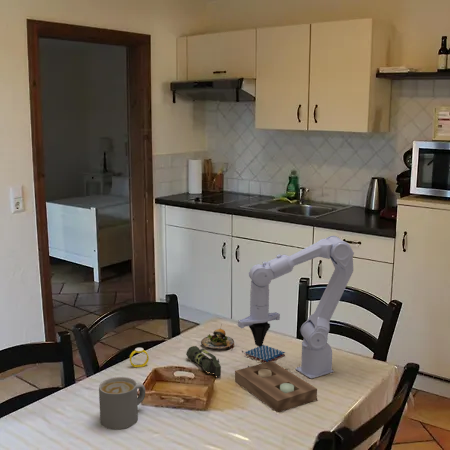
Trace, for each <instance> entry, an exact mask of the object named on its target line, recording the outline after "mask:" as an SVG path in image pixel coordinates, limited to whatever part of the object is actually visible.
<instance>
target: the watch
mask: <svg viewBox="0 0 450 450" xmlns="http://www.w3.org/2000/svg"><path fill="white" fill-rule="evenodd" d="M136 353H137V354H141V353H144V354H145V355H146V360H145V362H143V363H141V364H135V363H133V362H132V358H133V356H134V354H136ZM149 360H150V359H149V354H148V352H147V351H146V350H144V348H143V347H136V348H135V349H134V350H132V352H131V353H130V354H129V362H130V364H131V366H132V367H133V368H144V367H146V365H147V364H148V362H149Z"/></svg>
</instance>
